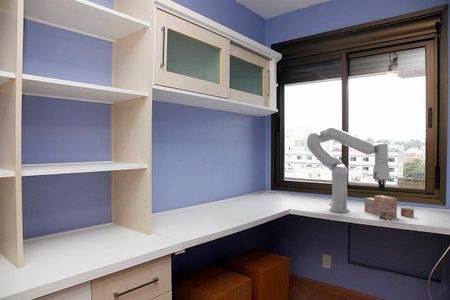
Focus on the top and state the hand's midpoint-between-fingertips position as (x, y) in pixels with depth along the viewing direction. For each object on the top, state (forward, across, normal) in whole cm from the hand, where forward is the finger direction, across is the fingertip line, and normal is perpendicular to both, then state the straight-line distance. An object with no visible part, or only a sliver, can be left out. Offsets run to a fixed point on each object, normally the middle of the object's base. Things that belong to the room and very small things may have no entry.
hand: (381, 190), depth 193 cm
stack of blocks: (+16, +1, -1) cm, 16 cm away
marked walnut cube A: (+16, +9, +11) cm, 21 cm away
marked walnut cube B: (+16, -11, +10) cm, 22 cm away
